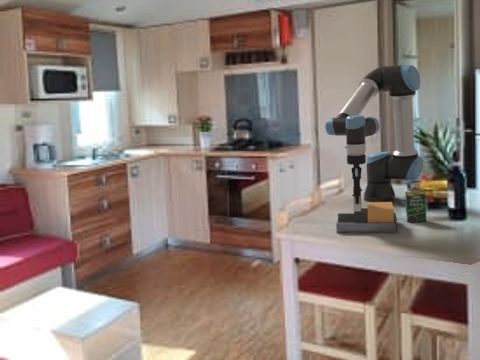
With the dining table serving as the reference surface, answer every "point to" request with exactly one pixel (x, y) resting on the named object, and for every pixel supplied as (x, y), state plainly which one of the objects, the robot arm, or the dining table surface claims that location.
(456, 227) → the dining table surface
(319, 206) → the dining table surface
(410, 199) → the coffee box
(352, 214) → the bay
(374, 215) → the grey and orange block
